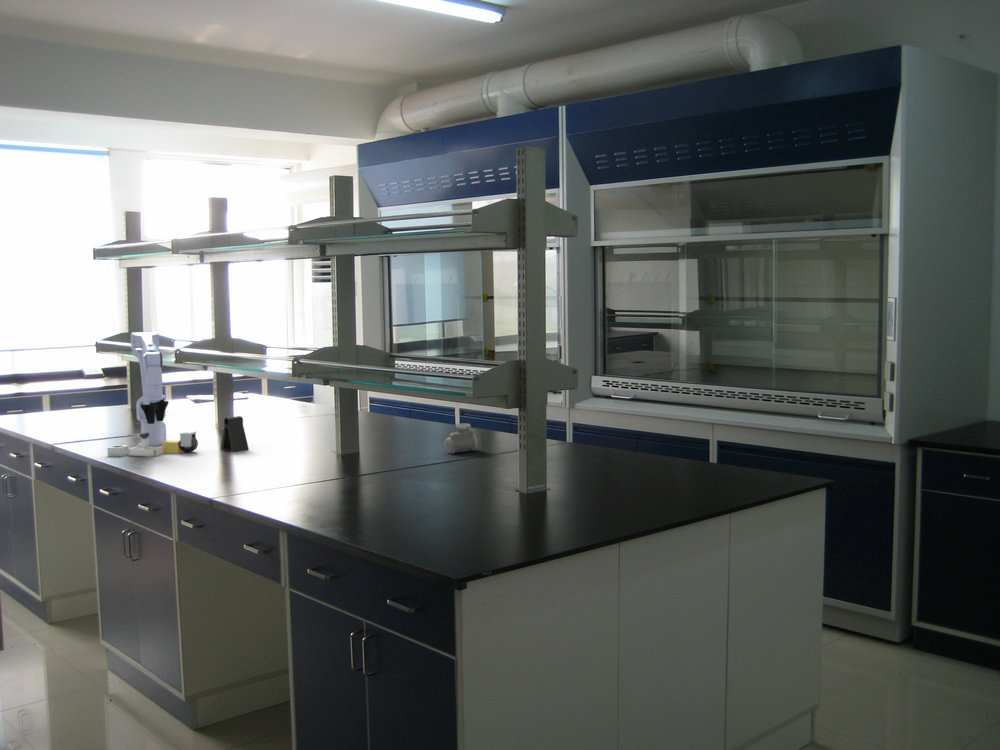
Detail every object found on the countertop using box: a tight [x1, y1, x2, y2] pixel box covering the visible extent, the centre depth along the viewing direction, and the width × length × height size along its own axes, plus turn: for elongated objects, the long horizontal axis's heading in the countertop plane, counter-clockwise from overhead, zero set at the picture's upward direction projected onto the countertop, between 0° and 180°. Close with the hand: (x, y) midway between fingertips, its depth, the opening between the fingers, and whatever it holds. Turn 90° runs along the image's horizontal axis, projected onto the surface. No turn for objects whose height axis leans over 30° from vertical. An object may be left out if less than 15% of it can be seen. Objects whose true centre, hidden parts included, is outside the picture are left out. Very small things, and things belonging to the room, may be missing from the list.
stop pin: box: [139, 432, 149, 449], centre depth 319 cm, size 3×3×7 cm
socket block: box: [107, 444, 129, 457], centre depth 320 cm, size 5×5×3 cm
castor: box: [178, 430, 199, 454], centre depth 324 cm, size 4×6×7 cm
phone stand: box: [220, 415, 250, 453], centre depth 328 cm, size 9×6×12 cm, turn 49°
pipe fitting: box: [444, 422, 482, 455], centre depth 320 cm, size 12×8×10 cm
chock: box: [161, 440, 183, 454], centre depth 325 cm, size 4×6×4 cm, turn 85°
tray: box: [128, 445, 165, 457], centre depth 320 cm, size 6×10×2 cm, turn 83°
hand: (155, 422), depth 327 cm, fingers open, 7 cm apart
